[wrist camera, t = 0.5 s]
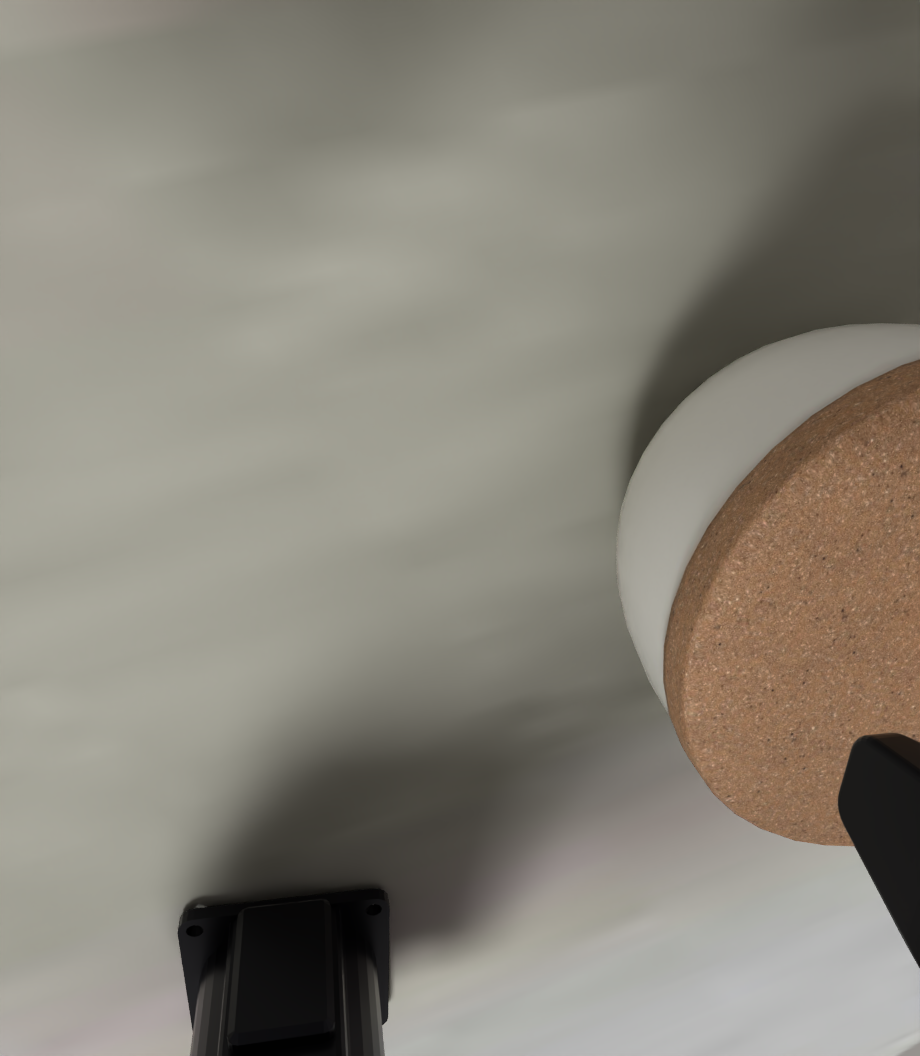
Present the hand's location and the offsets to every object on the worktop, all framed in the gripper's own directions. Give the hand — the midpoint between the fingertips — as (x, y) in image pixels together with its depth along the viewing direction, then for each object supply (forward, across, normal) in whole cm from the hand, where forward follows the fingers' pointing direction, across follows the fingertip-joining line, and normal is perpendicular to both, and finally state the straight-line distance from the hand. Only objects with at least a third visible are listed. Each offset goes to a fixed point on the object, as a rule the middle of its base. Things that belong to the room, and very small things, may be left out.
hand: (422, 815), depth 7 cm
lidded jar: (+13, -11, +2) cm, 17 cm away
